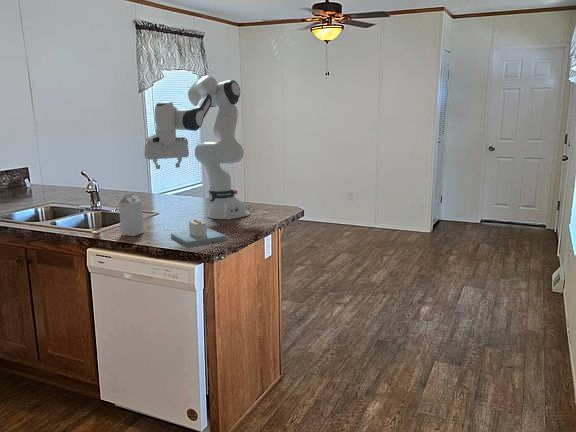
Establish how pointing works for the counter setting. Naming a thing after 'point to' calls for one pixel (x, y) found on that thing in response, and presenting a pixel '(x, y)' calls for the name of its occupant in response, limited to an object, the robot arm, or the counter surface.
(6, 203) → the counter surface
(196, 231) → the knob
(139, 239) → the counter surface
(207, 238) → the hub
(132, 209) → the milk carton
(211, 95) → the robot arm
